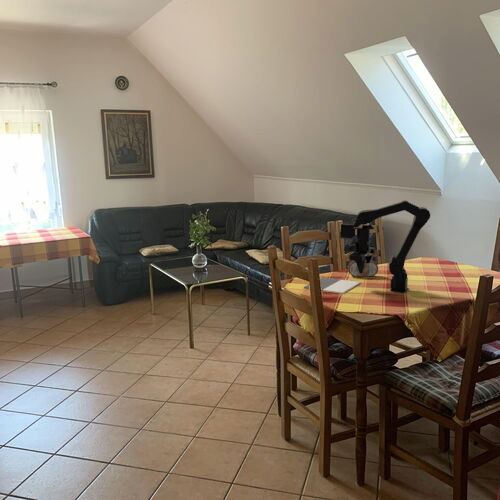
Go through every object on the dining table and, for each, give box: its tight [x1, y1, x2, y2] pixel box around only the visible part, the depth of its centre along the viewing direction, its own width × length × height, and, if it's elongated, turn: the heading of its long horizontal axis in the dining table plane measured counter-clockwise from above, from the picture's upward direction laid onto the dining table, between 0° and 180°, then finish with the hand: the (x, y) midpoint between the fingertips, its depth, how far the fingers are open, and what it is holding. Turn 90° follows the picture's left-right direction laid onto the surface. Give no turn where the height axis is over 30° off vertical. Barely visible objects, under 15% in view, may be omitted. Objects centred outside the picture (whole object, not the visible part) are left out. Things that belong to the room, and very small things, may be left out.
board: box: [303, 277, 361, 295], centre depth 238 cm, size 20×20×1 cm
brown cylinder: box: [356, 263, 369, 276], centre depth 229 cm, size 4×4×5 cm
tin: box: [347, 259, 379, 278], centre depth 252 cm, size 15×3×8 cm, turn 84°
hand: (362, 272), depth 229 cm, fingers closed on brown cylinder, 4 cm apart
